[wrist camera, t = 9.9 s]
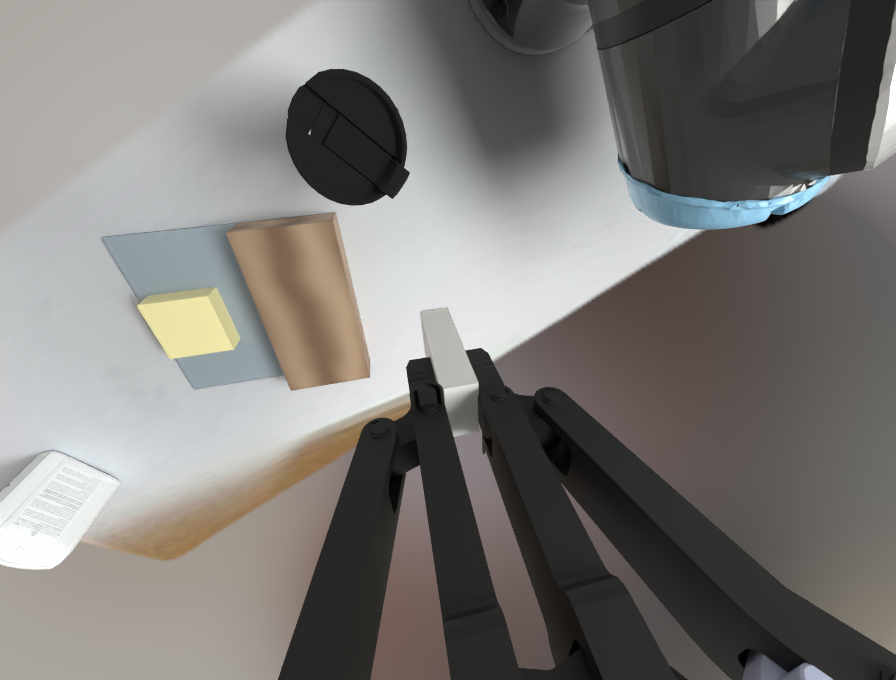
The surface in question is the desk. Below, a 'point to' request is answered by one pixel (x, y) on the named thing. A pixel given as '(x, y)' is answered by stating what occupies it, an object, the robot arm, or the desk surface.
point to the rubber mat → (197, 267)
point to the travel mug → (347, 138)
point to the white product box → (50, 510)
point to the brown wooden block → (304, 297)
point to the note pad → (190, 322)
